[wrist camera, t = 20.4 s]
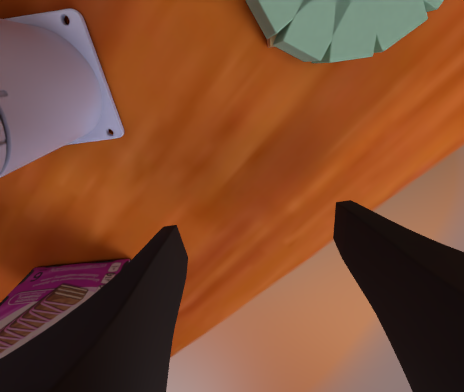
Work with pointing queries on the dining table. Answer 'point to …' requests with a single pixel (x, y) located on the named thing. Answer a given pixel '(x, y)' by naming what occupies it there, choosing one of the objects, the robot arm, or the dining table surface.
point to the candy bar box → (49, 298)
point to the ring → (338, 25)
